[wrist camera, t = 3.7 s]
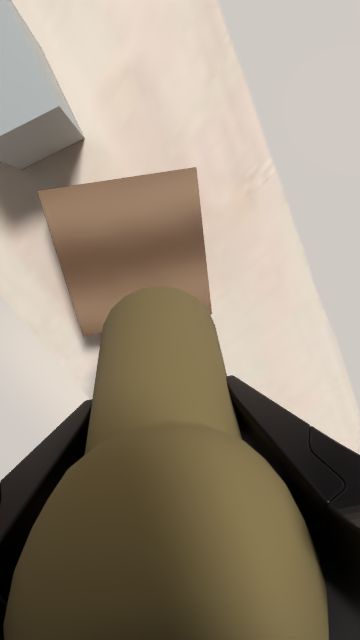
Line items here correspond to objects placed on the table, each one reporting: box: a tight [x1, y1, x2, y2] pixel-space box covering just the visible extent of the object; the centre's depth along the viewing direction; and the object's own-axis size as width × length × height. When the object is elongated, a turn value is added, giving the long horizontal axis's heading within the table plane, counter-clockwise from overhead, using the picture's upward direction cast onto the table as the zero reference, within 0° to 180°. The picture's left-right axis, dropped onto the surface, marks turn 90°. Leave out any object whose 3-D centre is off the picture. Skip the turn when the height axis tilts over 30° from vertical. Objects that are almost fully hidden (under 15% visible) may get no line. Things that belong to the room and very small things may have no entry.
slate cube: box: [0, 0, 84, 170], centre depth 14 cm, size 5×5×5 cm
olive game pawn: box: [3, 286, 329, 640], centre depth 8 cm, size 6×6×11 cm
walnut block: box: [37, 167, 212, 336], centre depth 19 cm, size 10×10×3 cm
